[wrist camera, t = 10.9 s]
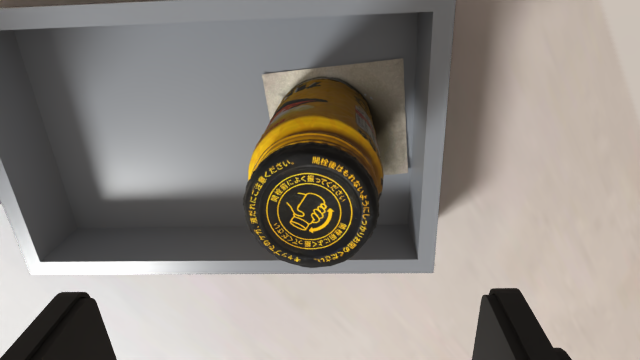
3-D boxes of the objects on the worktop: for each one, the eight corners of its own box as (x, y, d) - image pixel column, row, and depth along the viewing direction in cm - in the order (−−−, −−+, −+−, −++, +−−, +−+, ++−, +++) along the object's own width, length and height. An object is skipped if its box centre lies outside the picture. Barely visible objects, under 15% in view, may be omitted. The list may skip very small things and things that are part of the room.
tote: (0, 7, 26) (-75, 12, 21) (435, -13, 24) (456, -13, 19) (74, 234, 32) (30, 274, 28) (419, 230, 30) (433, 273, 26)
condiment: (262, 73, 26) (202, 137, 15) (402, 57, 25) (450, 111, 14) (281, 182, 29) (242, 301, 18) (407, 171, 28) (449, 289, 17)
